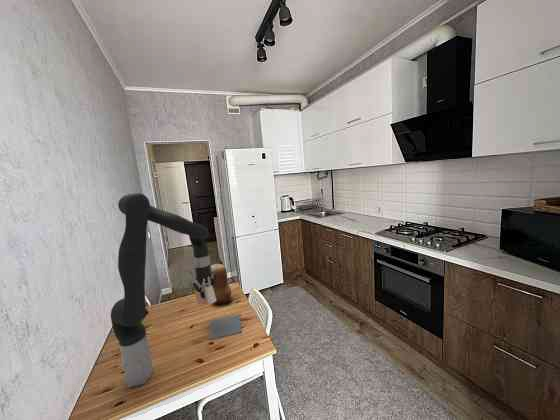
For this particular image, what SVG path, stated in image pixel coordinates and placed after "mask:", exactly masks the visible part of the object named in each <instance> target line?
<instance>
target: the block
mask: <svg viewBox="0 0 560 420" xmlns="http://www.w3.org/2000/svg"><path fill="white" fill-rule="evenodd" d="M193 291H194V294H195V299H196V302H197V305H207V304H208V305H212V304H213V303H214V302H216V301H217V300H216V297H215V293H214V290H213V287H212V285H211V286H206V285H205V287H204V295H205V298H204V299H203V298H201V296H200V292H197V291H196V290H195V289H193ZM214 304H215V303H214Z"/></svg>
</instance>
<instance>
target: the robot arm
mask: <svg viewBox="0 0 560 420" xmlns="http://www.w3.org/2000/svg"><path fill="white" fill-rule="evenodd" d="M117 207H118V210H119V211H120V212H121V213H122V214H124V215H125V228H124V234H123V235H122V239H121V241H120V244H119V248H118V255H117V257H118V258H117V269H118V273H119V277H120V280H121V283H122V285H123V291H124V297H123V298H121V299H119V300H118V301H116V302H115V303H114V304H113V306H112V308H111V311H110V320H111V325H112V328H113V333H114V336H115V338H116V339H117V341H118V345H119V350H120V354H121V360H122V365H123V367H122V368H123V373H124V378H125V383H126V387H127V389H129V388H130V389H131V388H134V387H137V386H140V385H144V384H146V382H147V381H148V380H149V379H150V378H151V377H152V375H153V373H154V367H153V362H152V358H151V351H150V346H149V341H148V335H147V329H146V327H145V325H144V323H143V324H142V323H141V321H142V319H144V318H145V316H146V315H145V312H146V309H147V304H146V289H145V288H146V287H145V285H146V284H145V283H146V282H145V281H146V265H147V264H146V262H147V261H146V260H147V236H148V235H147V231H148V230H147V229H148V221H149V222H153V223H155V224H157V225H160V226H162V227H165V228H167V229H169V230H172V231H174V232H176V233H180V234H182V235H187V236H188V237H189V238H188V239H189V240H190V244H191V246H192V247H191V248H192V249H193V259H194V261H193V262H194V271H195V276H196V277H195V280H194V281H192V282H191V283H190V284H191V286H192V288H193V290H196V291H197V292H200V296H201V298H203V299H204V298H205V295H204V287H206V286H211V285H212V286H214V284H215V280H216V276H217V275H216V274H212V273H211V266H212V265H211V258H210V254H209V253H210V252H209V248H208V247H209V246H208V244H207V243H206V242H204V240H206V239H207V238H209V235H210V232H209V229H208V228H207V227H206V226H204V225H202V224H200V223H197V222H193V221H191V220H189V219H187V218H184V217H183V216H180V215H178V214H175V213H172V212H169V211H165V210H164V209H163V210H162V209H160V208H158V207H155V206H153V205H151V203H150V200H149V198H148V197H147V195H145V194H144V193H140V192H134V193H128V194H126V195H124V196H122V197H121V198H120V199H119V200H118V204H117ZM210 279H211V281H210ZM144 315H145V316H144Z"/></svg>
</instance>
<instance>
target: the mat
mask: <svg viewBox="0 0 560 420" xmlns="http://www.w3.org/2000/svg"><path fill="white" fill-rule="evenodd" d="M242 332H243V331H242V322H241V314H240V313H239V314H234V315H230V316H224V317H220V318H214V319H211V320H210V326H209V333H208V334H209V335H208V341H211V340H216V339H221V338H225V337H229V336H234V335H238V334H242Z"/></svg>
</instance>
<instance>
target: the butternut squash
mask: <svg viewBox="0 0 560 420" xmlns="http://www.w3.org/2000/svg"><path fill="white" fill-rule="evenodd" d="M210 266H211V273H212V274H216V275H217V276H216V280H215V284H214V286H212V287H213V290H214V293H215V297H216V300H217V301H216V302H214V304H220V305H223V304H225V303H228V301H229V300H230V299H231V296H232V289H231V286H230V285H229V283H228V272H227V268H226V266H225V265H224V264H221V263H215V264H212V265H210ZM210 281H211V279H210Z"/></svg>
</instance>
